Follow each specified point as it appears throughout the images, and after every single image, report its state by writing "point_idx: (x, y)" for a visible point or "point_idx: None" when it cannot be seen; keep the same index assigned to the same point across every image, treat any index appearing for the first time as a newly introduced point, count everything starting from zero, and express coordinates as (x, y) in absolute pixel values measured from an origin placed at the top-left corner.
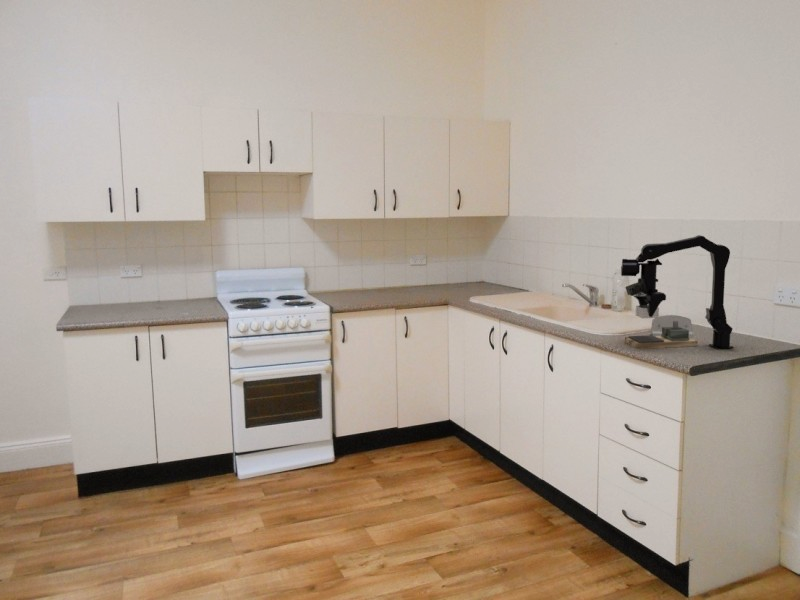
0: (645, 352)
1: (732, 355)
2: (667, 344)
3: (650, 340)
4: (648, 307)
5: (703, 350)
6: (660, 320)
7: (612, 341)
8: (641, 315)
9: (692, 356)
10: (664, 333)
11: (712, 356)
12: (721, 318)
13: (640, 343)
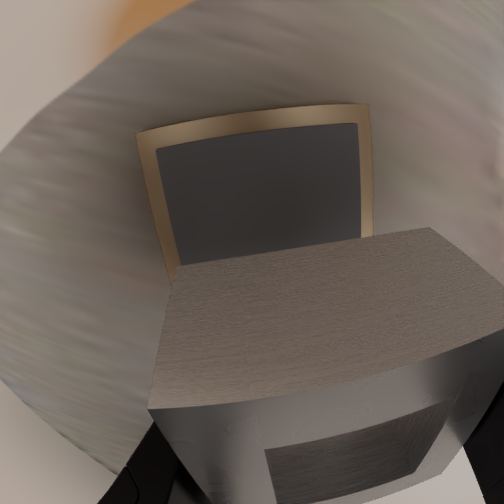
0: (56, 160)
1: (93, 440)
2: None
3: (196, 240)
4: (167, 486)
5: (145, 410)
6: None
7: (376, 35)
8: (226, 280)
9: (34, 346)
10: None
11: (58, 398)
12: None
13: (145, 154)
